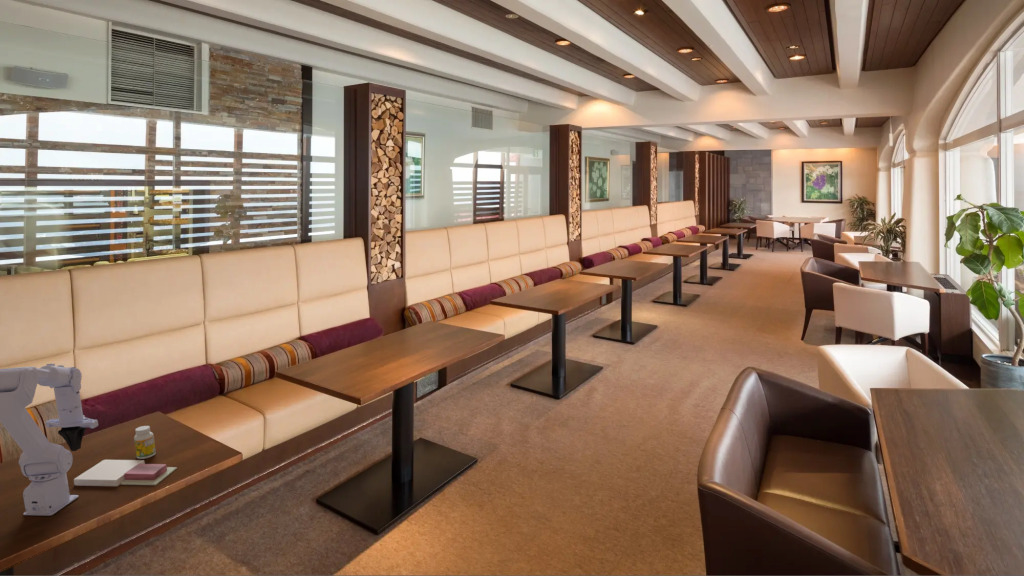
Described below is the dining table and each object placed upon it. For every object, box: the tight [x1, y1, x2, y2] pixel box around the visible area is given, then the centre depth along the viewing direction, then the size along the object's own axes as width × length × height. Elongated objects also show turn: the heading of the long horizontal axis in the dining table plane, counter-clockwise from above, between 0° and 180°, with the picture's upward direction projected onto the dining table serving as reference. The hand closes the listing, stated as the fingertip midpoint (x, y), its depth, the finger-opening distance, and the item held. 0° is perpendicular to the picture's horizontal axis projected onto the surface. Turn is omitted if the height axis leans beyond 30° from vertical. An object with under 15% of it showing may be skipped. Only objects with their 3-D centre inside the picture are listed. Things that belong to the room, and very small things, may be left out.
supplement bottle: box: [133, 425, 157, 460], centre depth 183 cm, size 5×5×10 cm
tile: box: [124, 463, 168, 480], centre depth 171 cm, size 6×9×2 cm, turn 87°
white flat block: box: [73, 459, 146, 487], centre depth 171 cm, size 12×13×2 cm
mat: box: [120, 466, 178, 486], centre depth 171 cm, size 10×11×1 cm
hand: (75, 449), depth 168 cm, fingers closed
